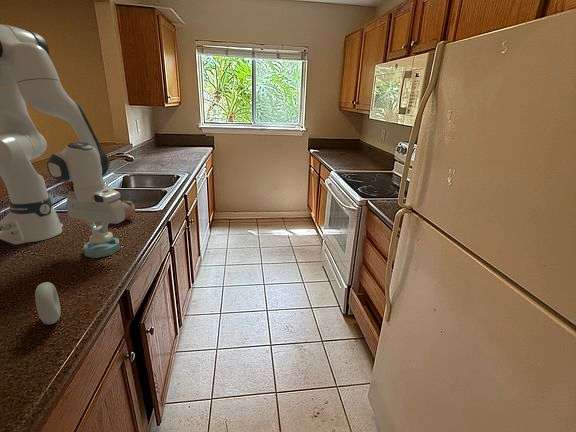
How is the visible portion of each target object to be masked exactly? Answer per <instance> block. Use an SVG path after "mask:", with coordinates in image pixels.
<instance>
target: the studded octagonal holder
mask: <svg viewBox="0 0 576 432" xmlns="http://www.w3.org/2000/svg"><path fill="white" fill-rule="evenodd" d="M120 250H121V245H120V240H119V238H117V237H113V239H112V240H111V241H109V242H106V243H102V244H92V243H90V241H89V242H85V244H83V253H84V254H83V255H84V256H85V257H88V258H93V259H97V258H102V257H103V258H104V257H107V256H112V255H114V254H116V253H117V252H119V251H120Z"/></svg>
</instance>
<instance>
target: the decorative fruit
mask: <svg viewBox="0 0 576 432" xmlns="http://www.w3.org/2000/svg"><path fill="white" fill-rule="evenodd" d="M120 199H121V200H120ZM120 199H119V200H120V201H121V202H122V204H123V208H124V213H125V219H124V220H123V221H127V220H129V219H130V218H132V217H133V216H134V215H135V213H136V207H135V204H134V203H133V202H132V201H130V200H123V199H122V198H121V197H120Z"/></svg>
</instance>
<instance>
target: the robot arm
mask: <svg viewBox="0 0 576 432" xmlns="http://www.w3.org/2000/svg"><path fill="white" fill-rule="evenodd" d="M27 105H28V106H29V107H31V108H32V109H34V110H35V111H37V112H40V113H42V114H45V115H49V116H52V117H56V118H58V119H61V120H62V121H65V122H66V123H67V124H69V125H70V127H71V128H72V130H73V131H74V133H75V135H76V137H77V139H78V141H77V142H76V141H75V142H71V143H68V144H66V146H65V148H64V149H63V150H62V151H61V150H60V151H59V152H56V153H53V154H51V155H50V156H49V157H48V159H47V162H46V167H47V170H48V173H49V175H50V177H51V178H53V179H54V180H56V181H58V182H60V183H61V182H62V183H68V182H72V183H73V185H72V186H73V191H69V192H68V193H67V194H66V209H67V210H66V211H67V214H68V217H69V218H70V219H75V220H83V221H85V223H86V224H87V225H88V227H89V228H90V231H91V232H92V229H94V228H96V227H98V226H99V225H96V223H95V222H99V223H100V224H101V225H102V228H100V232H101V233H107V232H109V229H108V227H109V225H110V224H120V223H121V222H123V221H125V220H124V219H125V213H124V208H123V204H122V202H121V201H120V199H121V193H120V192H119V191H117V190H115V189H114V188H111V187H110V186H107V185H106V182H105V180H104V178H103V177H104V176H105V175H106V174H107V173H108V170H109V168H110V167H111V166H110V164H111V162H110V158H109V156H108V155H107V152H106V151H105V150H104V149H103V147H102V146H101V143H100V142H99V139H98V138H97V136H96V134H95V132H94V130H93V128H92V126H91V124H90V122H89V120H88V118H87V116H86V115H85V112H84V110H83V109H82V107H81V106H80V104H79V103H78V102H77V101H75V100H74V99H72V98H71V97H70V96H69V94H68V93H67V92H66V90H65V89H64V87H63V85H62V82H61V80H60V77H59V74H58V72H57V69H56V67H55V65H54V62H53V61H52V59H51V57H50V48H49V46H48V44H47V42H46V40H45V39H44V37H43V36H42V35H40V34H38V33H37V32H34V31H32V30H29V29H23V28H19V27H17V26H12V25H8V24H4V23H3V24H1V23H0V177H1V179H2V181H3V182H4V185H5V187H6V190H7V194H8V197H9V200H10V202H7V203H6V206H7V207H9V213H7V214H6V215H5V216H4V217H3V218H2V219H1V220H0V229H1V230H0V240H2V241H4V242H7V243H9V244H13V245H14V246H15V245H16V246H17V245H21V244H25V243H32V242H33V243H34V242H35V243H36V242H39V241H44V240H48V239H51V238H54V237H56V236H58V235H60V234H62V232H63V227H64V224H63V223H61V222H60V219H59V216H58V213H57V211H56V209H55V208H54V207H53V204H52V203H53V202H52V198H51V197H50V196H49V194H48V189H47V185H46V182H45V178H44V177H43V176H42V175H41V174H39V173H38V172H37V170H36V169H35V168H34V165H33V164H32V163H31V160H36V159H38V158H40V157H41V156H42V155H43V154H44V153H45V152H46V150H47V147H48V142H47V139H46V138H45V137H44V136H43V134H42V133H40V132H39V131H38V130H37V128H36V126H35V124H34V122H33V120H32V118H31V117H30V113H29V111H28V107H27Z"/></svg>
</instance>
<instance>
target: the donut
mask: <svg viewBox="0 0 576 432" xmlns="http://www.w3.org/2000/svg"><path fill="white" fill-rule="evenodd" d="M34 292H35V293H34V301H35V306H36V310H37V314H38V317H39V319H40V320H41V322H42V323H43V324H45V325H48V326H49V325H53V324H55V323H57V322H58V321H59V320H60V318H61V313H62V311H61V303H60V297H59V295H58V292H57V288H56V286H55V285H54V284H53V283H52V282H50V281H46V282H42V283H39V284H38V285H37V287H36V289H35V290H34Z"/></svg>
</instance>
